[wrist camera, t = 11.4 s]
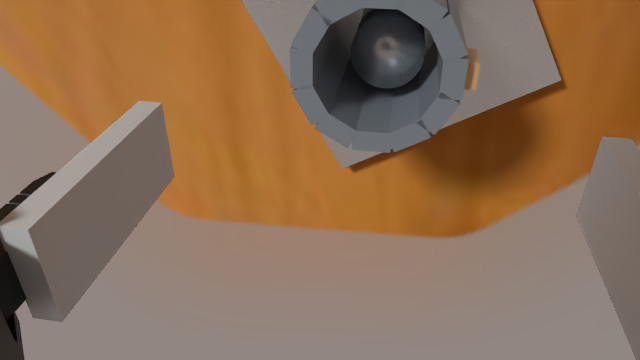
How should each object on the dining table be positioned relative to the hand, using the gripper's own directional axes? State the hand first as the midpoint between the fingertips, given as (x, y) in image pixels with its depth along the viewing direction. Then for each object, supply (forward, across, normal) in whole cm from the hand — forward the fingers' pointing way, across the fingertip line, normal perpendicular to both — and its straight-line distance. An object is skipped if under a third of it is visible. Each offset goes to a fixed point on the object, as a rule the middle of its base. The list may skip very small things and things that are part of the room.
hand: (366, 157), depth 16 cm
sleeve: (+15, 0, 0) cm, 15 cm away
